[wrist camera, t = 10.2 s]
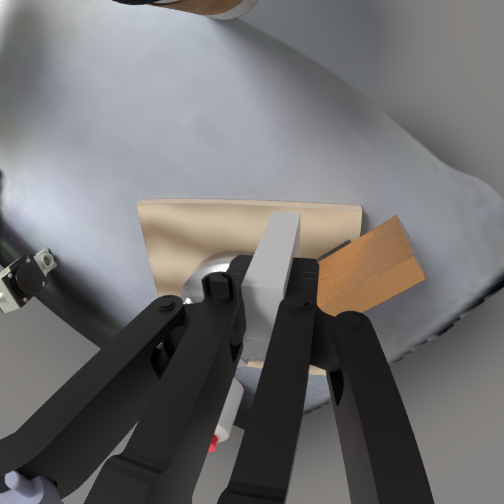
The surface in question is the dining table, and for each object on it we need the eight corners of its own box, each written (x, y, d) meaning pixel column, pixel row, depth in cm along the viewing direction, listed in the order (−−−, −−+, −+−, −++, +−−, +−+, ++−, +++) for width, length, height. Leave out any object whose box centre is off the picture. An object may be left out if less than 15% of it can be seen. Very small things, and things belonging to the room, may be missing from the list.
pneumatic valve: (73, 262, 40) (19, 311, 30) (41, 277, 45) (-4, 318, 35) (54, 230, 38) (-4, 275, 28) (25, 250, 43) (-23, 289, 33)
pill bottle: (253, 389, 44) (234, 451, 35) (226, 403, 48) (206, 458, 39) (212, 363, 43) (185, 425, 34) (188, 379, 47) (162, 434, 38)
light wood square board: (143, 199, 32) (135, 205, 30) (360, 205, 27) (362, 212, 25) (180, 346, 43) (175, 354, 41) (337, 367, 38) (336, 377, 36)
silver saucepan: (242, 358, 38) (222, 412, 31) (167, 286, 35) (131, 336, 28) (428, 268, 26) (450, 329, 19) (356, 152, 23) (367, 182, 16)
